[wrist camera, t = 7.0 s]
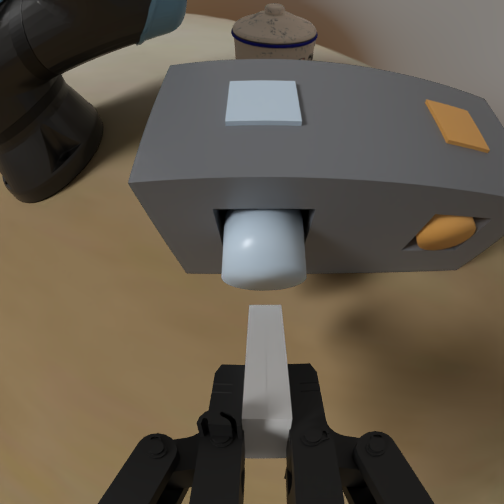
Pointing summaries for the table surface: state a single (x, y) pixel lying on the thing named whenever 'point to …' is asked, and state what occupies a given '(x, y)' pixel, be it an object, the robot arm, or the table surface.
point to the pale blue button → (263, 249)
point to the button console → (320, 162)
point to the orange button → (445, 232)
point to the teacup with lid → (274, 35)
